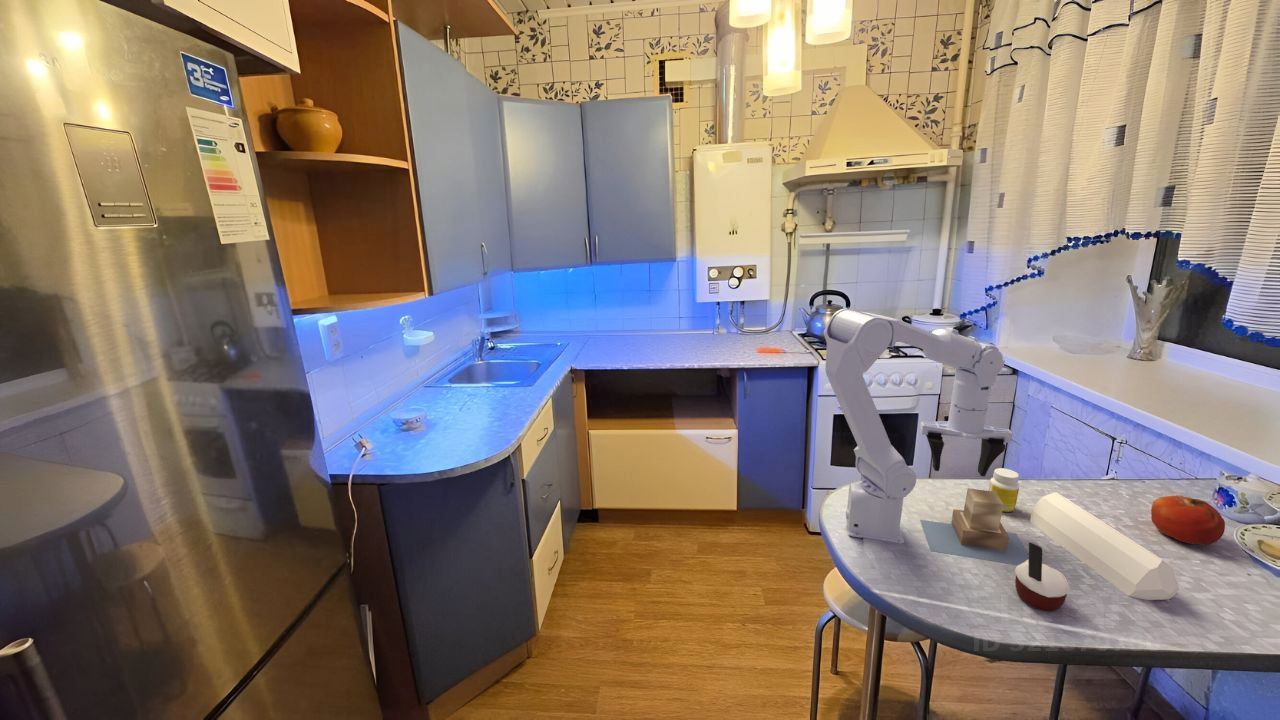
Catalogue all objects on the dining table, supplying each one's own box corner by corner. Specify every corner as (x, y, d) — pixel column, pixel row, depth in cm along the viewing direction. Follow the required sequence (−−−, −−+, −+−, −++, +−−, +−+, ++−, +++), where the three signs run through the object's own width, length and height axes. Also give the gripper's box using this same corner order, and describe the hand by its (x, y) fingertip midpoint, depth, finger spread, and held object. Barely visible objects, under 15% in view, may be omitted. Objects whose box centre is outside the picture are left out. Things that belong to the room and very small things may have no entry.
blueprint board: (930, 553, 88) (930, 550, 88) (919, 521, 98) (919, 519, 97) (1037, 570, 83) (1038, 568, 83) (1015, 535, 92) (1016, 533, 92)
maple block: (969, 527, 90) (974, 500, 88) (963, 514, 94) (967, 488, 92) (998, 531, 88) (1003, 504, 87) (990, 517, 92) (995, 491, 91)
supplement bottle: (1018, 517, 98) (1026, 479, 96) (992, 515, 99) (999, 477, 97) (1006, 504, 102) (1013, 467, 100) (981, 502, 103) (987, 466, 101)
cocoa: (1043, 588, 80) (1058, 521, 77) (1081, 616, 74) (1099, 545, 71) (990, 592, 79) (1003, 524, 76) (1023, 621, 73) (1039, 549, 70)
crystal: (1209, 586, 74) (1071, 499, 97) (1174, 567, 73) (1043, 484, 96) (1173, 622, 76) (1046, 528, 99) (1138, 604, 75) (1018, 514, 98)
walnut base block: (960, 544, 90) (963, 529, 89) (951, 522, 96) (953, 508, 95) (1006, 551, 88) (1009, 536, 87) (993, 528, 94) (996, 514, 93)
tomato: (1140, 516, 97) (1150, 480, 95) (1208, 531, 92) (1220, 493, 90) (1152, 542, 90) (1163, 503, 87) (1227, 559, 85) (1241, 519, 82)
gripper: (929, 409, 90) (919, 475, 94) (1023, 417, 86) (1010, 486, 90) (921, 396, 97) (913, 459, 101) (1009, 403, 92) (997, 468, 96)
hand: (958, 471), depth 96 cm, fingers open, 7 cm apart
